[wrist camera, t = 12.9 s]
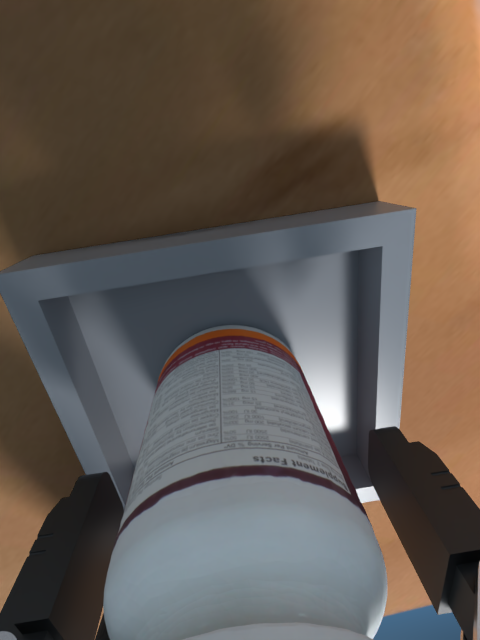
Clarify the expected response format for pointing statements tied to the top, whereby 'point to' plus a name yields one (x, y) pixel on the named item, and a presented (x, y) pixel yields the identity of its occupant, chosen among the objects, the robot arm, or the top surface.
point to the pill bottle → (241, 508)
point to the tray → (222, 321)
